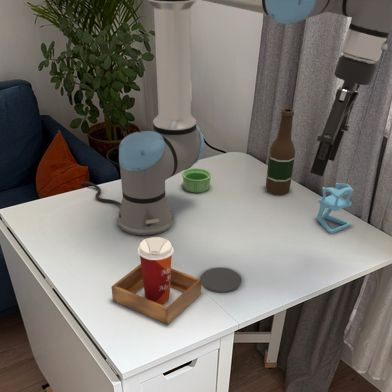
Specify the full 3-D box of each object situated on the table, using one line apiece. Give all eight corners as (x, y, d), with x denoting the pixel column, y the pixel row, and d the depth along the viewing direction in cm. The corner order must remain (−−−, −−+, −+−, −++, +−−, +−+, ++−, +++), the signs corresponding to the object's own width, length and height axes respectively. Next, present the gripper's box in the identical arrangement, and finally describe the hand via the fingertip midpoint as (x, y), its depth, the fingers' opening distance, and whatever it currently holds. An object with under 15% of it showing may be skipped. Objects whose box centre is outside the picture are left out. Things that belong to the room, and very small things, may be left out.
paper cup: (173, 307, 116) (172, 255, 107) (139, 307, 116) (135, 254, 107) (174, 287, 122) (174, 235, 113) (142, 286, 122) (139, 234, 112)
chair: (329, 214, 150) (337, 175, 142) (350, 226, 145) (360, 186, 137) (310, 221, 147) (317, 181, 139) (330, 234, 142) (340, 193, 134)
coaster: (192, 283, 123) (192, 282, 123) (213, 264, 130) (213, 263, 129) (228, 297, 120) (228, 296, 119) (248, 277, 126) (248, 275, 125)
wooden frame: (112, 300, 118) (111, 286, 115) (147, 272, 126) (146, 258, 124) (168, 324, 112) (168, 310, 109) (201, 293, 120) (201, 279, 118)
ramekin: (204, 195, 157) (205, 182, 154) (177, 190, 159) (177, 177, 156) (214, 184, 163) (215, 170, 160) (188, 179, 166) (188, 165, 163)
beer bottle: (272, 197, 157) (283, 116, 141) (260, 186, 163) (269, 107, 146) (294, 193, 160) (307, 112, 143) (281, 182, 165) (292, 104, 149)
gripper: (370, 69, 89) (328, 187, 102) (384, 58, 108) (347, 158, 121) (329, 58, 91) (293, 175, 104) (349, 49, 110) (317, 148, 123)
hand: (322, 166), depth 112 cm, fingers open, 13 cm apart
